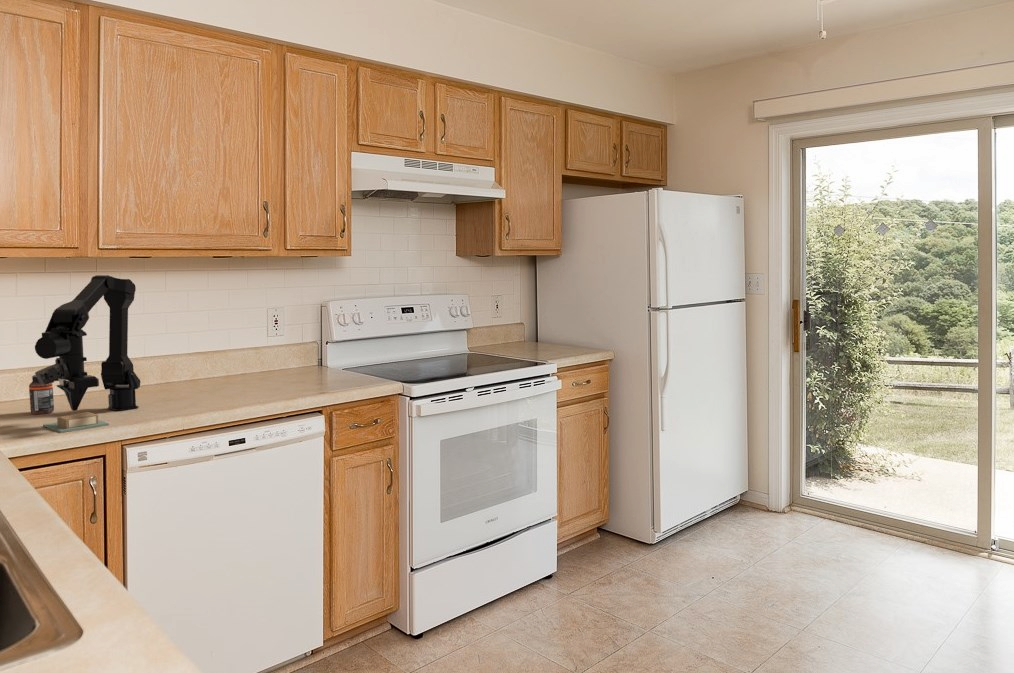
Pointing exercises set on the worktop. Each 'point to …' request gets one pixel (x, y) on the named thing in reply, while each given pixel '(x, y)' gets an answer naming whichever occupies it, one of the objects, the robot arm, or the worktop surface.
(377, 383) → the worktop surface
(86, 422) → the slab
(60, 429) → the mat
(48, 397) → the supplement bottle
